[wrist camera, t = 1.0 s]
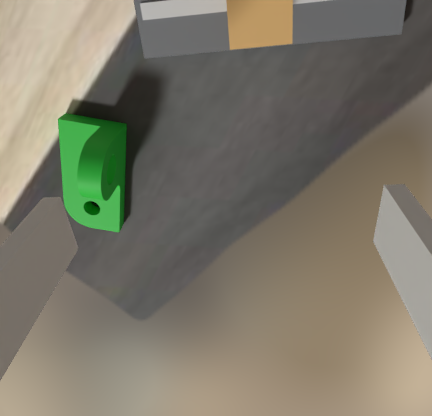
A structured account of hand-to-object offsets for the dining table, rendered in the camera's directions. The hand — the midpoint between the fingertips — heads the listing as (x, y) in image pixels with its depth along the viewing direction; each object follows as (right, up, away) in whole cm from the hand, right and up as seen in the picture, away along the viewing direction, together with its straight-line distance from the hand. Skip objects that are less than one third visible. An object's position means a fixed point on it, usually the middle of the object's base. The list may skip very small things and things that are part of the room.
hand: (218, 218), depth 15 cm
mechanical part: (-13, +4, +24) cm, 28 cm away
